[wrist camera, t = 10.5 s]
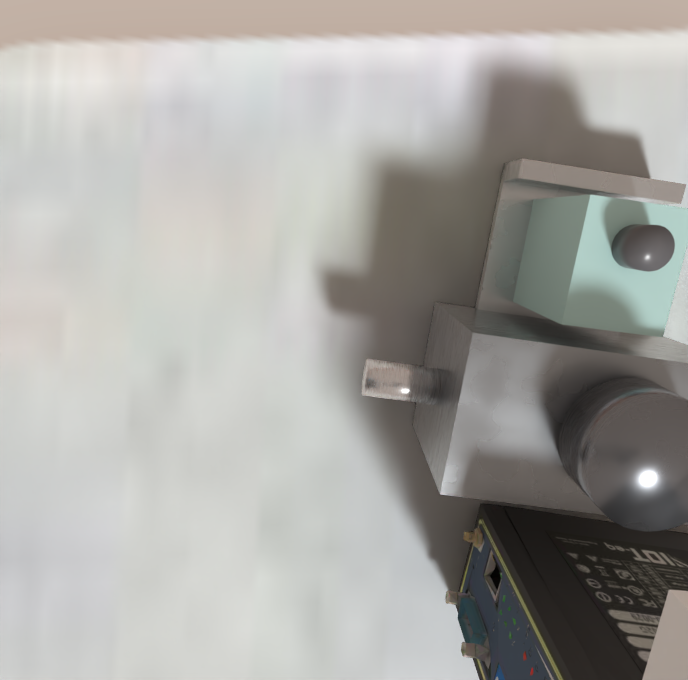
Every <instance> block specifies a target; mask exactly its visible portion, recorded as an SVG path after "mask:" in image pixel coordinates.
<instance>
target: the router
mask: <svg viewBox="0 0 688 680" xmlns="http://www.w3.org/2000/svg"><path fill="white" fill-rule="evenodd" d="M463 540H465V541H467V542H469V543H470V542H471V544H470V548H469V552H468V556H467V560H466V564H465V568H464V572H463V576H462V580H461V584H460V588H459V592H457V591H456V592H455V591H450V590H448V591H447V592H446V603H447V604H448V603H449V604H454V605H456V608H457V611H458V621H459V624H460V627H461V630H462V633H463V636H464V639H465V642H463V643H462V647H461V652H462V655H463V657H470V658H473V660H474V663H475V667H476V670H477V673H478V676H479V679H480V680H642V679H643V676H644V672H645V669H646V665H647V662H648V659H649V655H650V652H651V649H652V645H653V642H654V638H655V635H656V632H657V628H658V625H659V622H660V618H661V615H662V611H663V608H664V605H665V601H666V598H667V595H668V591H669V590H681V591H688V534H686V533H679V532H672V531H665V530H662V531H651V532H647V531H637V530H632V529H629V528H626V527H623V526H621V525H619V524H617V523H611V522H605V521H598V520H592V519H585V518H579V517H572V516H565V515H559V514H552V513H546V512H539V511H533V510H526V509H520V508H513V507H507V506H504V507H502V506H499V505H490V504H481V505H480V509H479V513H478V516H477V520H476V524H475V528H474V532H473V531H471V532H464V538H463Z"/></svg>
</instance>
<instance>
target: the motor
mask: <svg viewBox="0 0 688 680" xmlns="http://www.w3.org/2000/svg"><path fill="white" fill-rule="evenodd" d="M685 187H686V184H680V183H674V182H668V181H661V180H655V179H649V178H643V177H636V176H630V175H624V174H618V173H611V172H605V171H599V170H593V169H586V168H580V167H574V166H568V165H561V164H555V163H549V162H543V161H536V160H530V159H524V158H521V159H518V160H515V161H511V162H508V163H505V164H504V167H503V172H502V177H501V182H500V187H499V192H498V197H497V202H496V207H495V212H494V217H493V222H492V227H491V232H490V236H489V241H488V246H487V251H486V256H485V261H484V266H483V271H482V276H481V281H480V286H479V291H478V296H477V301H476V305H475V308H474V307H467V306H460V305H453V304H446V303H439V302H435V305H434V310H433V315H432V321H431V326H430V332H429V337H428V342H427V348H426V353H425V358H424V364H423V366H418V365H411V364H403V363H396V362H389V361H381V360H374V359H366V362H365V366H364V372H363V379H362V395H363V396H371V397H379V398H386V399H394V400H401V401H409V402H416V407H415V412H414V418H413V423H412V425H413V427H414V430H415V432H416V435H417V438H418V440H419V443H420V445H421V448H422V450H423V453H424V455H425V458H426V460H427V463H428V466H429V468H430V471H431V473H432V476H433V478H434V481H435V483H436V486H437V488H438V491H439V494H440V495H448V496H456V497H464V498H472V499H480V500H488V501H496V502H504V503H512V504H520V505H528V506H537V507H545V508H553V509H561V510H569V511H577V512H585V513H593V514H601V515H606V516H607V517H608V518H609V519H611V520H612V521H614V522H615V523H617V524H619V525H621V526H623V527H626V528H629V529H632V530H637V531H647V532H651V531H662V530H667V529H671V528H674V527H677V526H680V525H688V345H686V344H683V343H680V342H677V341H674V340H672V339H669V338H666V337H655V336H647V335H640V334H632V333H624V332H616V331H609V330H601V329H593V328H585V327H578V326H570V325H562V324H559V323H557V322H555V321H553V320H551V319H549V318H547V317H544V316H542V315H540V314H538V313H536V312H534V311H532V310H529V309H527V308H525V307H523V306H521V305H519V304H517V303H514V302H513V298H514V293H515V288H516V283H517V278H518V274H519V269H520V264H521V259H522V254H523V249H524V244H525V239H526V234H527V229H528V224H529V220H530V215H531V210H532V205H533V200H534V199H543V198H555V197H567V196H579V195H590V194H591V195H598V196H605V197H612V198H619V199H626V200H633V201H640V202H647V203H654V204H681V201H682V198H683V194H684V191H685Z"/></svg>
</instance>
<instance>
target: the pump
mask: <svg viewBox="0 0 688 680" xmlns="http://www.w3.org/2000/svg"><path fill="white" fill-rule="evenodd" d="M687 245H688V208H682V207H675V206H668V205H661V204H654V203H647V202H640V201H633V200H626V199H619V198H612V197H605V196H598V195H591V194H590V195H579V196H567V197H555V198H543V199H534V200H533V205H532V210H531V215H530V220H529V224H528V229H527V234H526V239H525V244H524V249H523V254H522V259H521V264H520V269H519V274H518V278H517V283H516V288H515V293H514V298H513V302H514V303H517V304H519V305H521V306H523V307H525V308H527V309H529V310H532V311H534V312H536V313H538V314H540V315H542V316H544V317H547V318H549V319H551V320H553V321H555V322H557V323H559V324H562V325H570V326H578V327H585V328H593V329H601V330H609V331H616V332H624V333H632V334H640V335H647V336H655V337H663V334H664V330H665V327H666V323H667V319H668V315H669V312H670V308H671V304H672V300H673V297H674V293H675V289H676V286H677V282H678V278H679V274H680V271H681V267H682V263H683V260H684V256H685V252H686V248H687Z"/></svg>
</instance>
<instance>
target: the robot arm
mask: <svg viewBox="0 0 688 680" xmlns="http://www.w3.org/2000/svg"><path fill="white" fill-rule="evenodd" d="M642 680H688V591H681V590H669V591H668V595H667V598H666V601H665V605H664V608H663V611H662V615H661V618H660V622H659V625H658V628H657V632H656V635H655V638H654V642H653V645H652V649H651V652H650V655H649V659H648V662H647V665H646V669H645V672H644V676H643V679H642Z"/></svg>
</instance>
